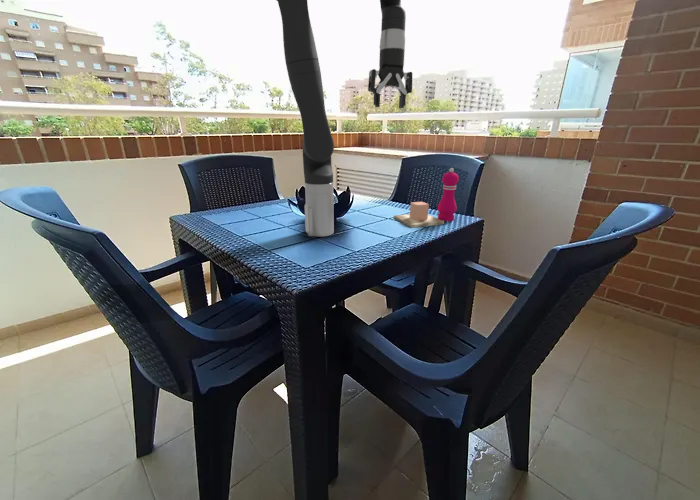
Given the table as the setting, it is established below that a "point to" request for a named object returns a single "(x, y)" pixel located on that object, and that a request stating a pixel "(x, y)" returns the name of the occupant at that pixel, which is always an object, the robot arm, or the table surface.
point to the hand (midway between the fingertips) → (389, 107)
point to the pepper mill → (448, 196)
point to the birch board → (420, 223)
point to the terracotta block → (419, 211)
